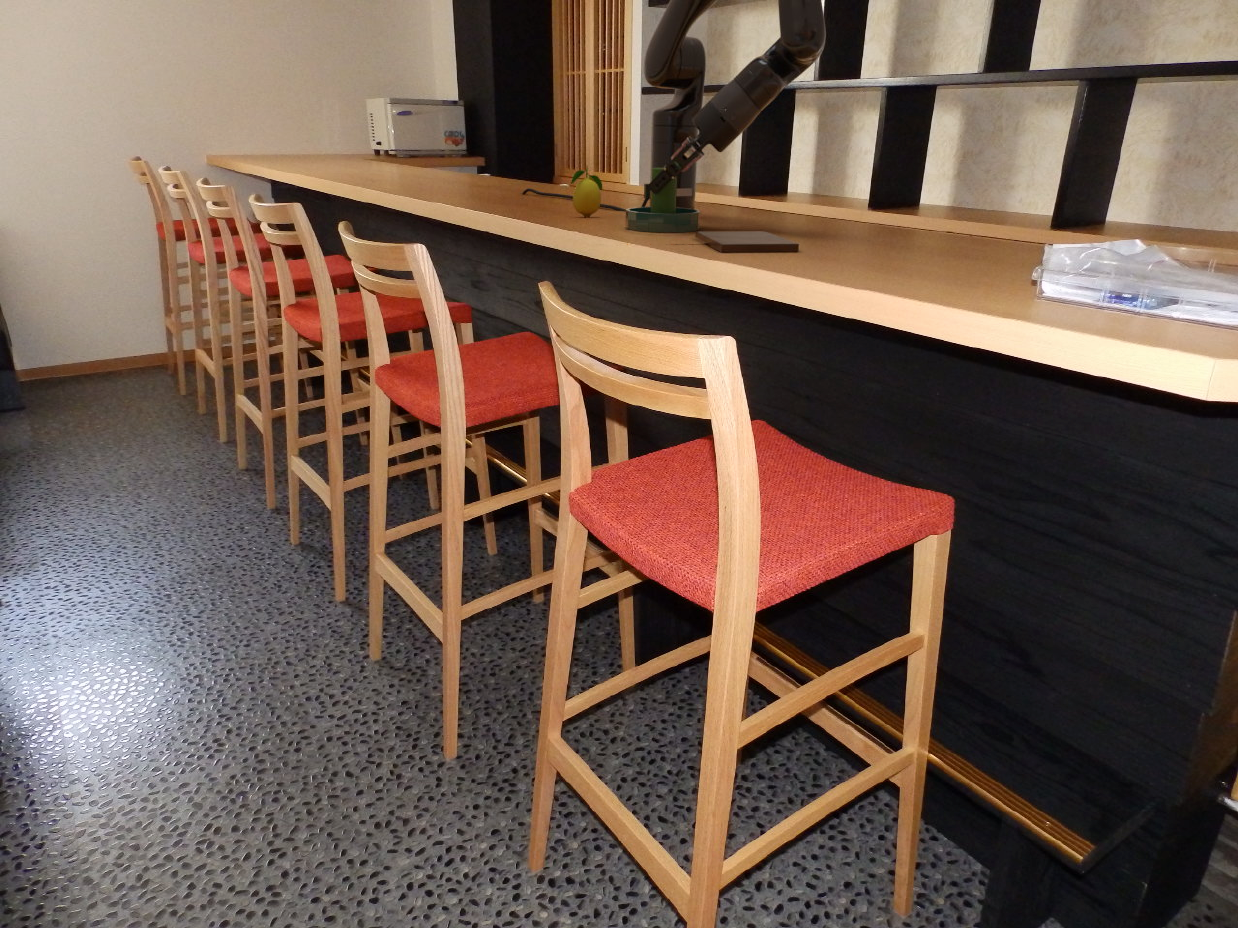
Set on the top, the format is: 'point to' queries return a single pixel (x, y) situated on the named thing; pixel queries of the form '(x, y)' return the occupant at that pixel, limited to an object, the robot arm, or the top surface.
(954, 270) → the top surface
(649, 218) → the bowl
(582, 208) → the lemon
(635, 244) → the top surface
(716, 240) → the board
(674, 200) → the tall green pillar
